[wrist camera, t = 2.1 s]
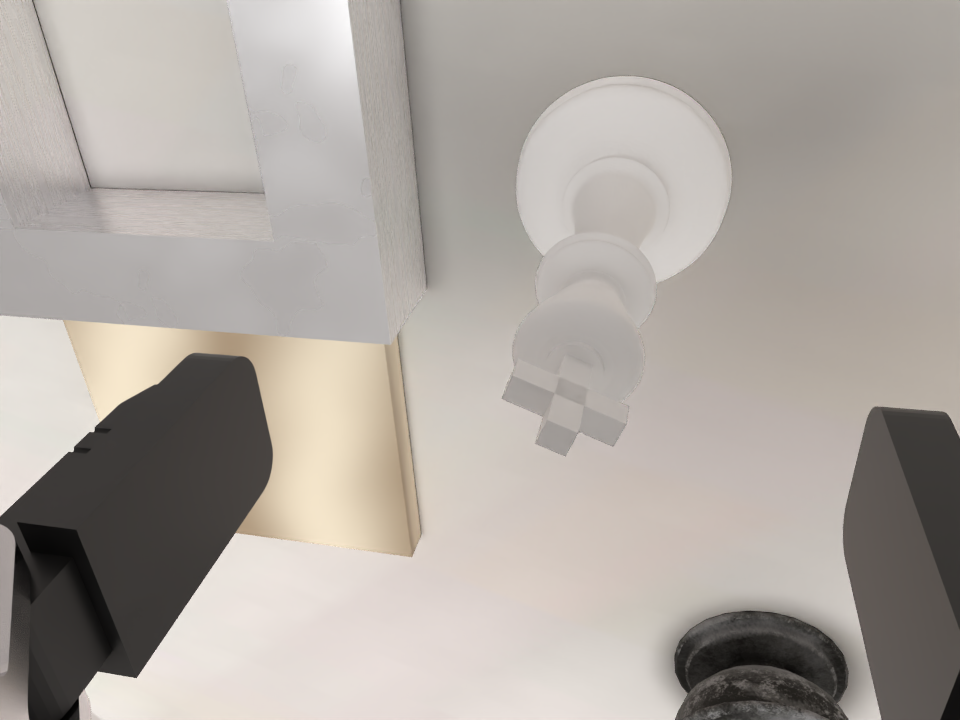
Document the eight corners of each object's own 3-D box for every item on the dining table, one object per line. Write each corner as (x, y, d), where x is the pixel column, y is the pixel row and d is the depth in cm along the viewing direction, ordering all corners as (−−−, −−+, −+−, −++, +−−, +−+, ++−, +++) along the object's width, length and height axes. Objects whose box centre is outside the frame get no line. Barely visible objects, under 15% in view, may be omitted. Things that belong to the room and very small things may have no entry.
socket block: (372, -283, 15) (309, -310, 13) (426, 289, 21) (390, 344, 19) (-135, -228, 18) (-270, -242, 15) (43, 266, 24) (-33, 312, 22)
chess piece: (563, 39, 17) (437, 200, 9) (773, 128, 17) (838, 370, 9) (489, 233, 20) (341, 490, 12) (670, 310, 20) (647, 622, 12)
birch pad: (395, 319, 22) (383, 337, 21) (420, 535, 26) (411, 557, 25) (82, 297, 24) (60, 313, 24) (151, 499, 29) (135, 518, 28)
